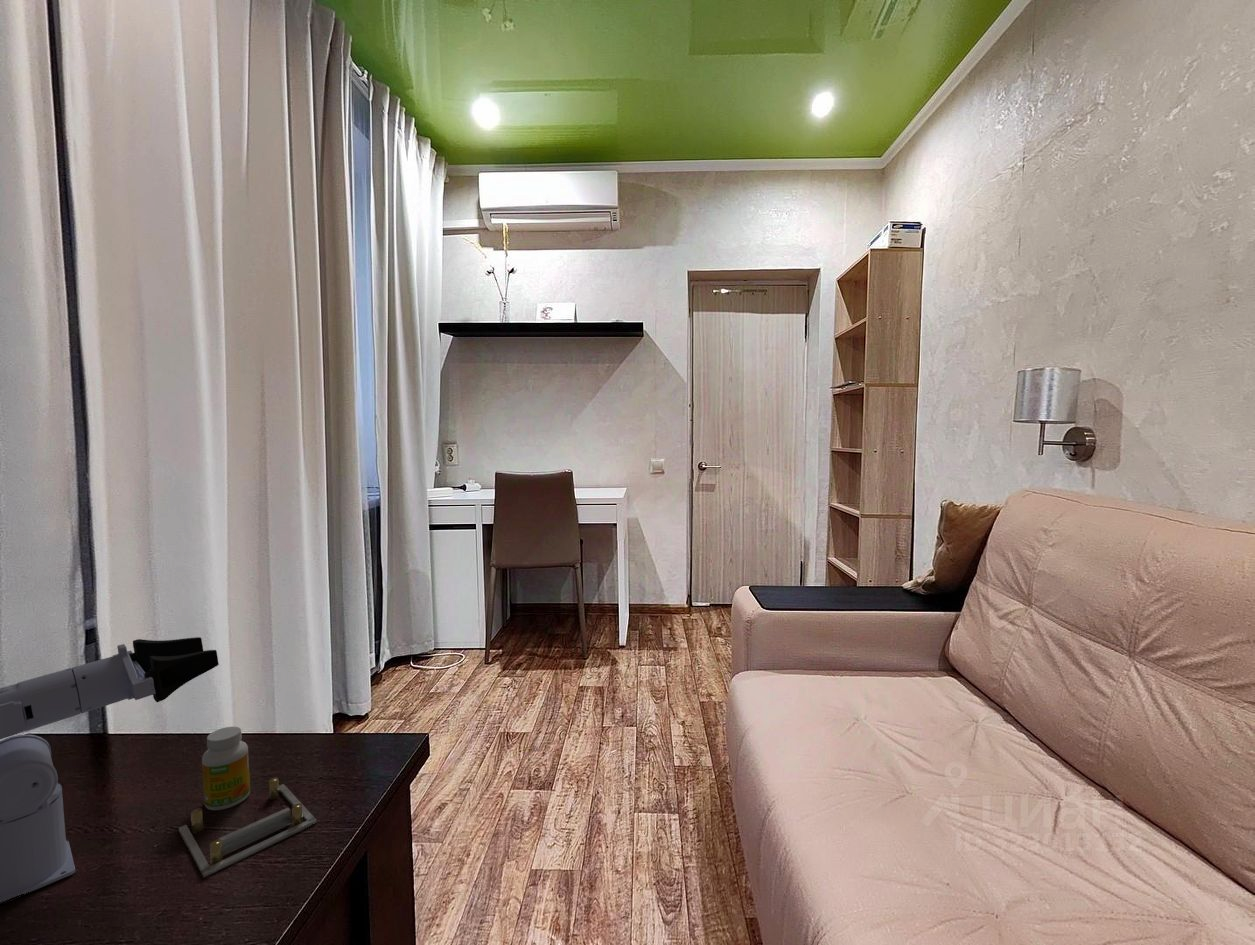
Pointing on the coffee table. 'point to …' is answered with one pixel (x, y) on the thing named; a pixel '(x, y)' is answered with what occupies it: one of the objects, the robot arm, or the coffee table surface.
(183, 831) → the frame
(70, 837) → the coffee table surface
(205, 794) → the supplement bottle
